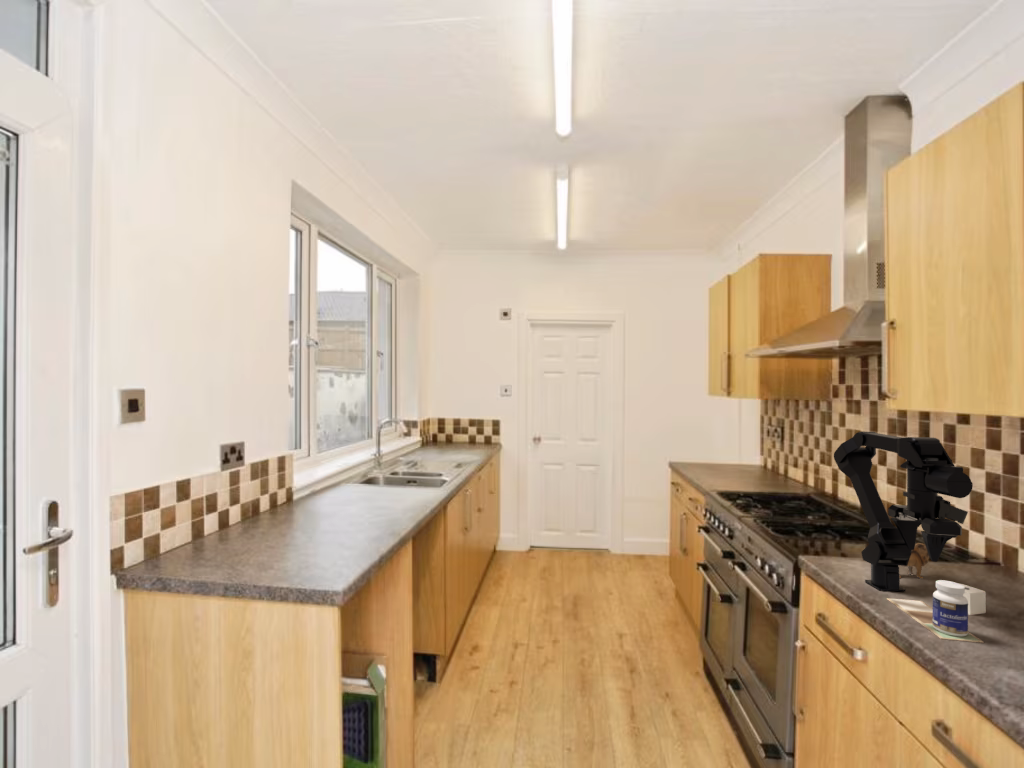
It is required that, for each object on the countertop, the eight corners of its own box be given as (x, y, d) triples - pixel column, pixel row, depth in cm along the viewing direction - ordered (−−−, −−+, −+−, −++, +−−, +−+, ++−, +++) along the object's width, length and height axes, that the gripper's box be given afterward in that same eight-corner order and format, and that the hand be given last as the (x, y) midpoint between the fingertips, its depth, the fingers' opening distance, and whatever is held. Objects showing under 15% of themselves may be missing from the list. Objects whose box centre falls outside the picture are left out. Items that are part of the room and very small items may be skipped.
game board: (886, 599, 126) (886, 598, 126) (921, 601, 124) (921, 600, 124) (940, 638, 105) (940, 637, 105) (983, 642, 104) (983, 641, 104)
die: (946, 606, 122) (946, 585, 122) (961, 604, 123) (961, 583, 123) (970, 615, 117) (970, 593, 117) (985, 613, 118) (985, 591, 118)
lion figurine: (918, 572, 146) (918, 540, 146) (936, 578, 141) (935, 545, 141) (871, 573, 144) (871, 541, 144) (887, 580, 139) (887, 546, 139)
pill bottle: (940, 635, 106) (940, 586, 106) (927, 623, 112) (927, 577, 112) (974, 639, 104) (973, 590, 105) (959, 627, 110) (959, 580, 110)
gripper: (989, 499, 112) (989, 571, 111) (936, 484, 130) (936, 546, 130) (931, 496, 114) (931, 567, 113) (887, 482, 132) (887, 543, 132)
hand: (922, 555), depth 122 cm, fingers open, 9 cm apart
